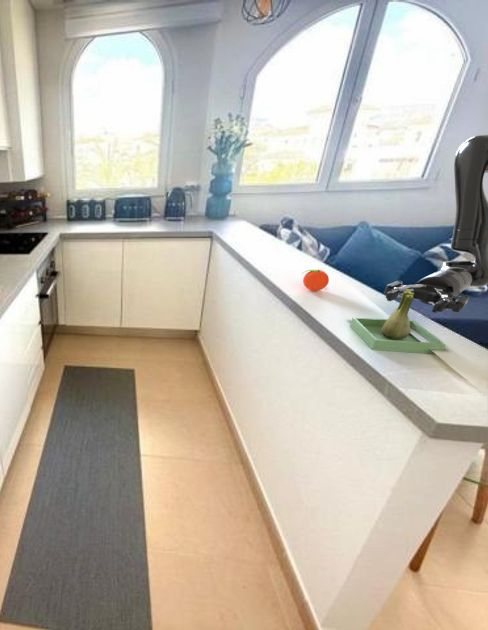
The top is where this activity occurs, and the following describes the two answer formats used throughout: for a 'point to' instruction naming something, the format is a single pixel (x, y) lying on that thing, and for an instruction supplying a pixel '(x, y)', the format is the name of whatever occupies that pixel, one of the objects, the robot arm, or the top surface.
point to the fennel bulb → (399, 318)
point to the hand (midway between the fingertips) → (411, 302)
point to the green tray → (377, 341)
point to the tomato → (315, 280)
